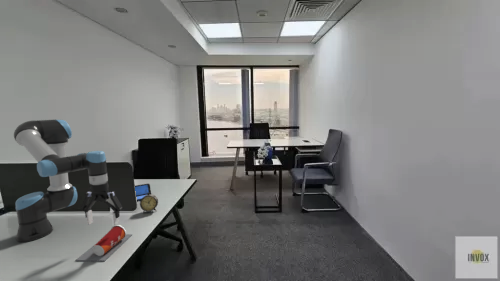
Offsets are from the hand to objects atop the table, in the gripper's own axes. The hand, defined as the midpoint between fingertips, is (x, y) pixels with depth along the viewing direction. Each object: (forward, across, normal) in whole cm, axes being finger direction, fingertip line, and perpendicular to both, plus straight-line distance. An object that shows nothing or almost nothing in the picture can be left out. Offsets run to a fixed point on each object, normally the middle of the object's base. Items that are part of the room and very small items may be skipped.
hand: (103, 223), depth 113 cm
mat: (+12, 0, 0) cm, 13 cm away
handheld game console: (+14, -18, +66) cm, 70 cm away
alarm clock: (+13, +2, +41) cm, 43 cm away
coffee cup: (+9, +3, -9) cm, 13 cm away
